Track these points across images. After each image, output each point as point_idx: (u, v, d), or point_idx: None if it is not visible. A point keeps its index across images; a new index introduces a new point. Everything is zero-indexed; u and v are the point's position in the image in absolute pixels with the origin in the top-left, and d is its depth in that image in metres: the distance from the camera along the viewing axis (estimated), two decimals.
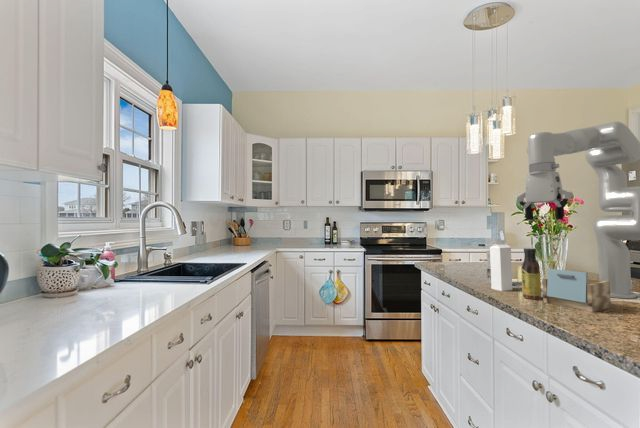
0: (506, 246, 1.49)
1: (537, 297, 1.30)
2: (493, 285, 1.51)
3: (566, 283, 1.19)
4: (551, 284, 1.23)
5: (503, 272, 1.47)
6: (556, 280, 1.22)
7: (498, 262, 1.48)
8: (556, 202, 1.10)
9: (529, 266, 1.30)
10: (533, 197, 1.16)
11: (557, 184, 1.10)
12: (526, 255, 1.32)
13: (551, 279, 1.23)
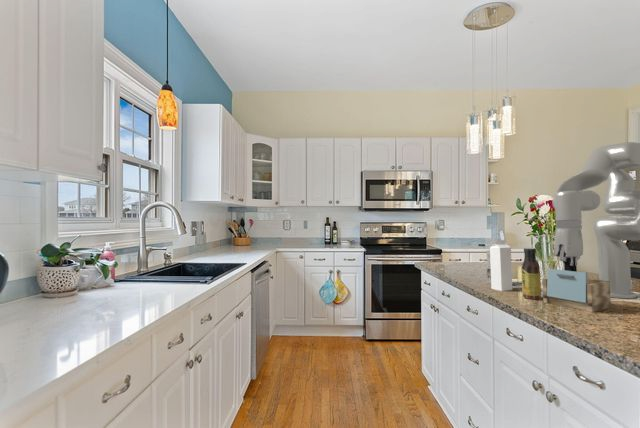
0: (506, 246, 1.49)
1: (537, 297, 1.30)
2: (493, 285, 1.51)
3: (566, 283, 1.19)
4: (551, 284, 1.23)
5: (503, 272, 1.47)
6: (556, 280, 1.22)
7: (498, 262, 1.48)
8: (576, 260, 1.20)
9: (529, 266, 1.30)
10: (573, 252, 1.18)
11: None
12: (526, 255, 1.32)
13: (551, 279, 1.23)
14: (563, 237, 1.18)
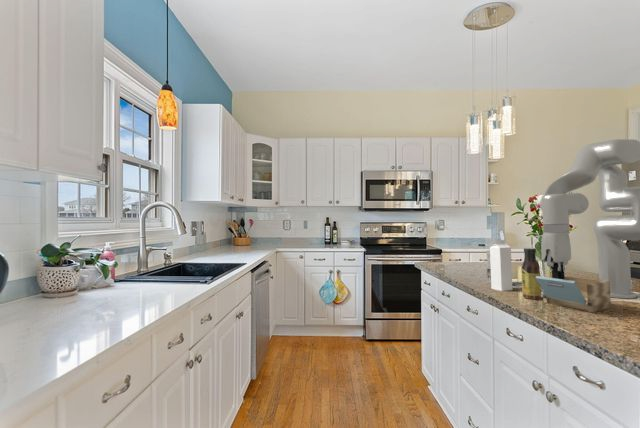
0: (506, 246, 1.49)
1: (537, 297, 1.30)
2: (493, 285, 1.51)
3: (559, 289, 1.17)
4: (546, 289, 1.22)
5: (503, 272, 1.47)
6: (548, 286, 1.20)
7: (498, 262, 1.48)
8: (564, 265, 1.17)
9: (529, 266, 1.30)
10: (560, 257, 1.15)
11: None
12: (526, 255, 1.32)
13: (543, 285, 1.21)
14: (550, 242, 1.15)
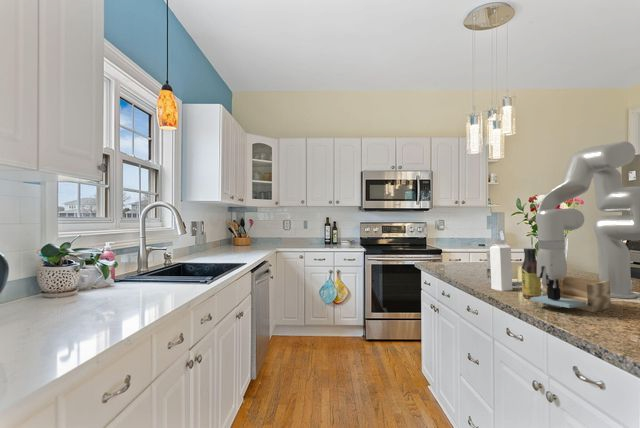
0: (506, 246, 1.49)
1: None
2: (493, 285, 1.51)
3: None
4: None
5: (503, 272, 1.47)
6: None
7: (498, 262, 1.48)
8: (559, 282, 1.15)
9: (529, 266, 1.30)
10: (556, 274, 1.13)
11: None
12: (526, 255, 1.32)
13: None
14: (545, 259, 1.13)
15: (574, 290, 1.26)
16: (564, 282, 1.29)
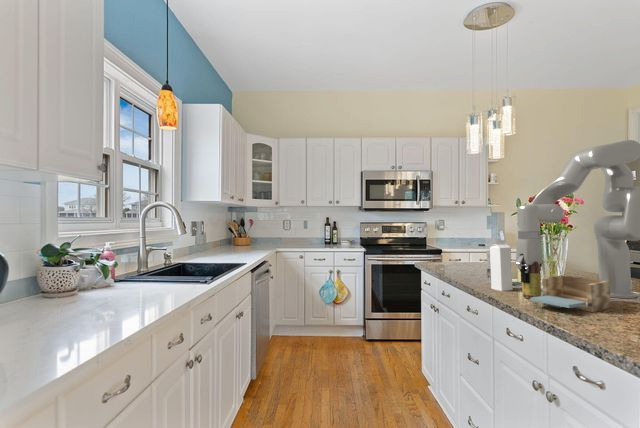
0: (506, 246, 1.49)
1: None
2: (493, 285, 1.51)
3: None
4: None
5: (503, 272, 1.47)
6: None
7: (498, 262, 1.48)
8: None
9: (529, 266, 1.30)
10: (532, 260, 1.30)
11: None
12: None
13: None
14: (523, 247, 1.30)
15: (574, 290, 1.26)
16: (564, 282, 1.29)
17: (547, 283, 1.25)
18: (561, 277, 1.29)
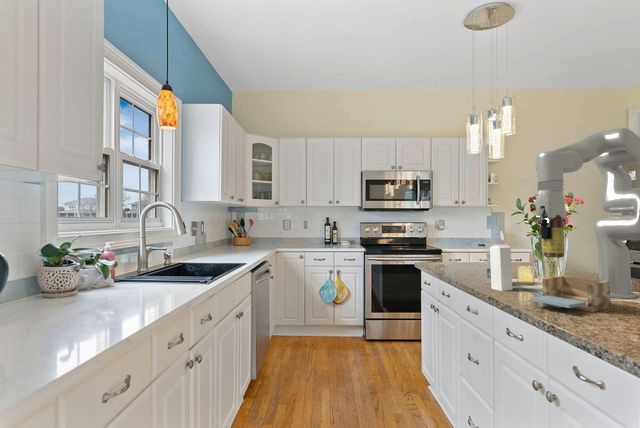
0: (506, 246, 1.49)
1: (560, 254, 1.15)
2: (493, 285, 1.51)
3: None
4: None
5: (503, 272, 1.47)
6: None
7: (498, 262, 1.48)
8: None
9: (551, 220, 1.15)
10: (555, 213, 1.15)
11: None
12: None
13: None
14: (544, 198, 1.15)
15: (574, 290, 1.26)
16: (564, 282, 1.29)
17: (547, 283, 1.25)
18: (561, 277, 1.29)
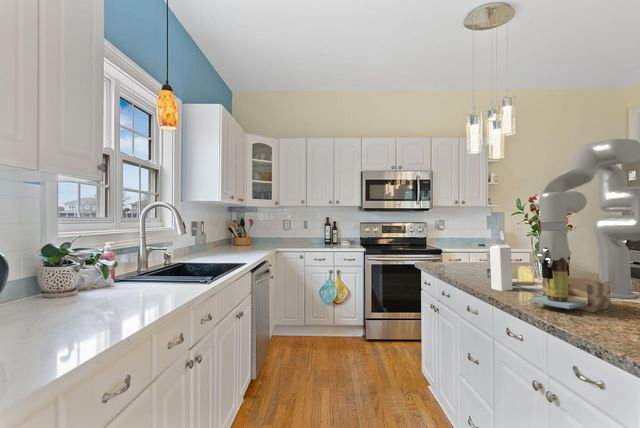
0: (506, 246, 1.49)
1: (564, 299, 1.14)
2: (493, 285, 1.51)
3: None
4: None
5: (503, 272, 1.47)
6: None
7: (498, 262, 1.48)
8: (567, 260, 1.18)
9: (555, 263, 1.14)
10: (558, 255, 1.14)
11: None
12: None
13: None
14: (548, 240, 1.14)
15: (574, 290, 1.26)
16: None
17: None
18: None
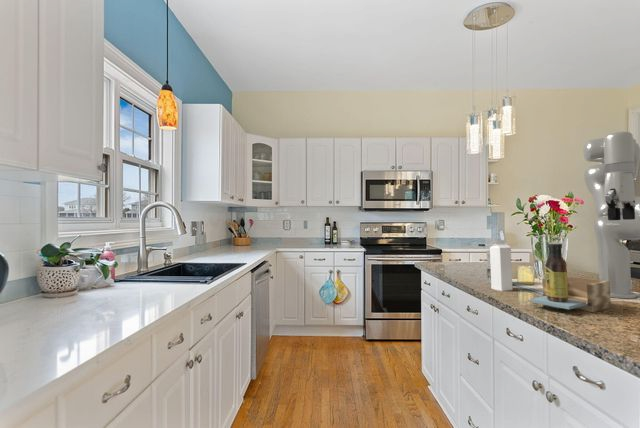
0: (506, 246, 1.49)
1: (564, 299, 1.14)
2: (493, 285, 1.51)
3: None
4: None
5: (503, 272, 1.47)
6: None
7: (498, 262, 1.48)
8: (632, 203, 1.15)
9: (555, 264, 1.14)
10: (626, 196, 1.11)
11: None
12: (551, 251, 1.16)
13: None
14: (615, 181, 1.12)
15: (574, 290, 1.26)
16: None
17: None
18: None
